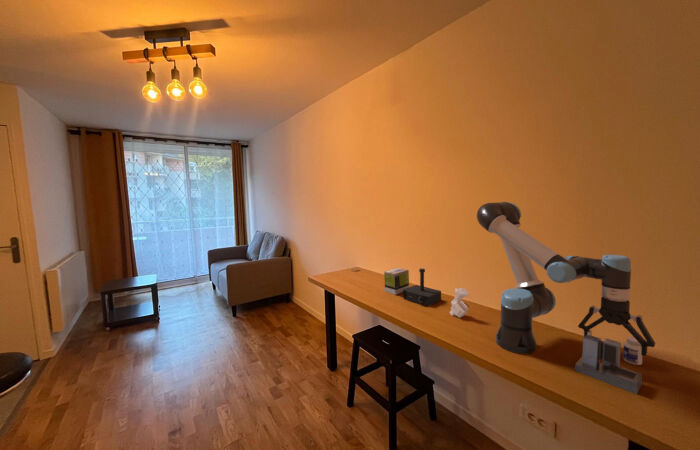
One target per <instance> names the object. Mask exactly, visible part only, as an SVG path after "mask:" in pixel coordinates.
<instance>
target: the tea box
mask: <svg viewBox="0 0 700 450" xmlns="http://www.w3.org/2000/svg"><path fill="white" fill-rule="evenodd" d="M409 271H410V270H409V269H407V268H401V267H395V268H393V269H388V270H385V271H383V274H384V292H385V293H387V292H388V294H390V293H391V295H394V296H396V295H399V294H403V289H406V288H409V287H410V277H409V276H410V274H409V273H410V272H409Z"/></svg>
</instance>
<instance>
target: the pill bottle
mask: <svg viewBox="0 0 700 450" xmlns="http://www.w3.org/2000/svg"><path fill="white" fill-rule="evenodd" d="M639 344H640V343H639V342H638V341H637V340H636V339H635V338H634V337H633V336H627V337H626V341H625V342H624V343H623V353H622V354H623V357H622V359H623V361H625V362H627V363H629V364H631V365H635V366H641V365H643V363H644V362H643V359H644V355H642V363H641V365H639V364H638V345H639Z"/></svg>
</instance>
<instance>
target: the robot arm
mask: <svg viewBox="0 0 700 450" xmlns="http://www.w3.org/2000/svg"><path fill="white" fill-rule="evenodd" d="M521 218H522V212H521V209H520V208H519V206H517V205H516V204H515V203H513V202H507V201H501V202H500V201H499V202H487V203H484V204H481V206H479V208H478V210H477V211H476V220H477V222H478V224H479V225H480V226H481V227H482V228H483V230H486V231H487V232H489V234H495V235H497V236H498V237H500V241H501V243H502V247H503V249H504V252H505V254H506V258H507V260H508V262H509V265H510V268H511V270H512V273H513V276H514V279H515V281H516V285H515V287H514V288H512V287H511V288H508V289H505V290H504V291H502V293H501V297H500V307H501V308H500V325H499V327H498V330H497V332H496V334H495V342H496V344H497V345H498V346H499V347H501V348H503V349H504V350H507V351H508V352H512V353H515V354H522V355H525V354H526V355H527V354H534V353H535V352H536V351H537V347H538V346H537V345H538V344H537V341H536V339H535V335H534V331H533V319H534V318H537V317H540V316H544V315H547V314H549V313H550V312H552V311H553V310H554V309H555V307H556V303H557V302H556V300H557V299H556V297H555V295H554V293H553V291H552V290H550V289H549V288H548V287H546V285H545V282H544V281H542V280H540V279H539V277H538V276H537V274H536V271H535V268H534V265H533V263H532V261H533V262H534V263H536V264H537V266H540V267H541V268H542V269H544V270H545V271H546V274H547V277H548V278H549V279H550V280H551V281H552V282H554V283H556V284H557V283H558V284H564V283H571V282H572V281H575V280H579V279H582V278H583V279H584V278H588V279H595V280H600V281H601V282H600V283H601V285H600V287H601V291H600V292H601V293H600V294H601V298H600V308H598V307H596V306H595V305H591V306H590V307H589V310H588V312H587V314H586V315H585V316H584V318H583V319H582V320H581V321H580V323H579V324H578V326H577V327H578V328H579V329H581V330H583V338H584V337H585V336H586V335H590V336H593V330H592V329H593V328H595V327H597V326H598V325H600V324H601V323H604V322H606V323H608V324H614V325H617V326H622V327H624V328H625V329H626V330H627V331H628V332H629V333H630V335H632V337H634V338H635V339H636V340H637V341H638V342H639V343H640V344H639V345H638V364H639V365H638V366H641V363H642V355H643V357H646V356H647V354H648V348H649V347H650V348H654V347H655V346H656V342H655V340H654V338H653V336H652V334H651V333H650V332H649V330H648V328H647V327H646V324H645V323H644V322H643V316H642V315H632V314H631V313H630V308H631V307H630V306H631V302H630V300H631V279H632V264H631V258H630V257H629V256H626V255H622V254H621V255H620V254H604V255H602V258H593V257H585V256H584V257H583V256H579V255H566V256H565V257H564V256H562V255H560V254H559V253H558V252H556V251H554V250H553V249H552V248H551V247H548V246H547V245H545V244H544V243H542V242H541V241H539V240H537V238H535V237H533V236H532V235H531V234H529V233H527V232H526V231H525V230H522V229H521V228H520V227H521V222H520V221H521ZM597 313H599V314H600V315H601V316H600V317H599V318H597V319H596V320H594V321H593V322H591V323H589V324H588V325H586V324H587V322H588V321H589V320H590V319H591V318H592V317H593V316H594V314H597ZM630 320H633V322H634V323H636V326H637V327H638V329H639V330H640V333H641V334H642V335H641V334H640V333H639V331H637V329H635V328H634V327H633V325H632V324H631V322H629V321H630ZM643 337H644V338H643Z"/></svg>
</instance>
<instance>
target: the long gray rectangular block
mask: <svg viewBox="0 0 700 450" xmlns="http://www.w3.org/2000/svg"><path fill="white" fill-rule="evenodd" d="M621 347H622V342H620V341H616V340H613V339H610V338H605V340H603V357H602V359H601V361H602V362H601V364H604V365H607V366H610V364H613V365H616V366H619V367H621V361H620V360H621V349H622V348H621Z"/></svg>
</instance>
